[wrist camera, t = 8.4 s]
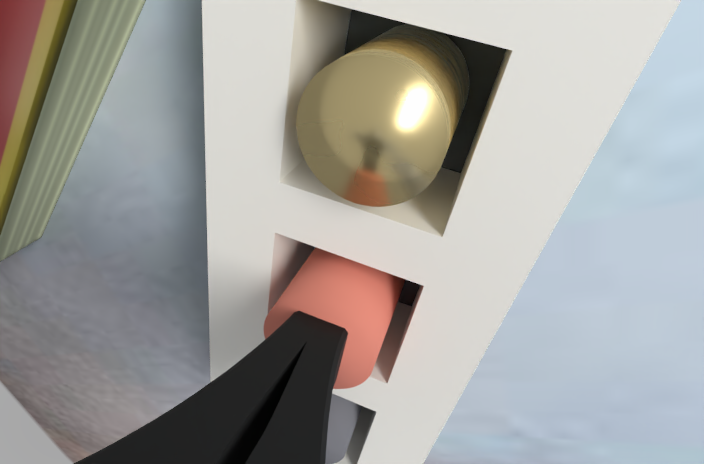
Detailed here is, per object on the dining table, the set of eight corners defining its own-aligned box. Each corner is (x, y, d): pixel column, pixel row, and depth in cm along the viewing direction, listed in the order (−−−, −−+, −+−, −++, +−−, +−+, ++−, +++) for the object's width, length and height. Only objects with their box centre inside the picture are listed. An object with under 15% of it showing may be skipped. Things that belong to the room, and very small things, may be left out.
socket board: (414, 431, 19) (396, 512, 17) (253, 364, 21) (211, 428, 18) (641, -32, 9) (694, -24, 6) (287, -109, 10) (198, -131, 7)
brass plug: (448, 153, 12) (421, 225, 9) (348, 123, 13) (289, 181, 9) (487, 41, 10) (469, 81, 7) (369, 10, 11) (305, 35, 8)
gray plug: (370, 385, 19) (338, 475, 15) (305, 359, 19) (262, 441, 16) (385, 339, 17) (352, 430, 14) (314, 312, 17) (267, 393, 14)
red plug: (396, 306, 15) (361, 404, 12) (315, 276, 15) (260, 362, 12) (419, 237, 13) (386, 329, 10) (327, 205, 14) (267, 284, 10)
